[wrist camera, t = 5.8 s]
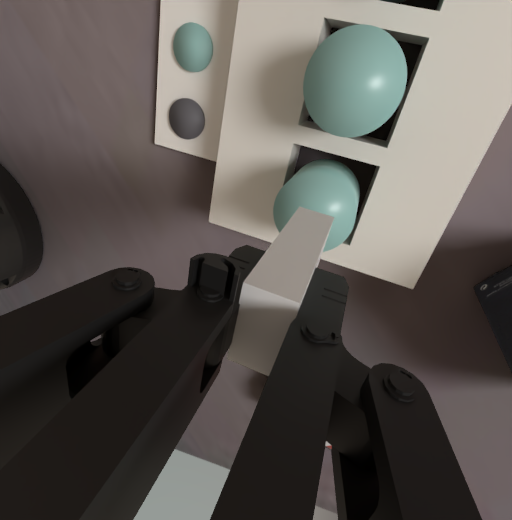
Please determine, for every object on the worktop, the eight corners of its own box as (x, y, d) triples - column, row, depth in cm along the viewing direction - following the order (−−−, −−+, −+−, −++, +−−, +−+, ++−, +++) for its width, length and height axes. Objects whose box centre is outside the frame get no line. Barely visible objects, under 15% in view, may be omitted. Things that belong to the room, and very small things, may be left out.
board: (225, 208, 26) (208, 221, 23) (287, -180, 16) (270, -231, 13) (409, 267, 23) (412, 289, 21) (620, -151, 13) (676, -207, 11)
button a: (283, 215, 22) (265, 238, 19) (300, 150, 20) (283, 163, 16) (346, 235, 21) (339, 262, 18) (370, 170, 19) (368, 187, 16)
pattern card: (159, 142, 25) (152, 144, 24) (170, -95, 19) (162, -103, 18) (219, 160, 24) (214, 162, 24) (254, -83, 18) (248, -91, 17)
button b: (308, 118, 19) (292, 124, 16) (330, 30, 17) (318, 14, 13) (382, 137, 18) (383, 148, 15) (416, 47, 16) (425, 36, 13)
